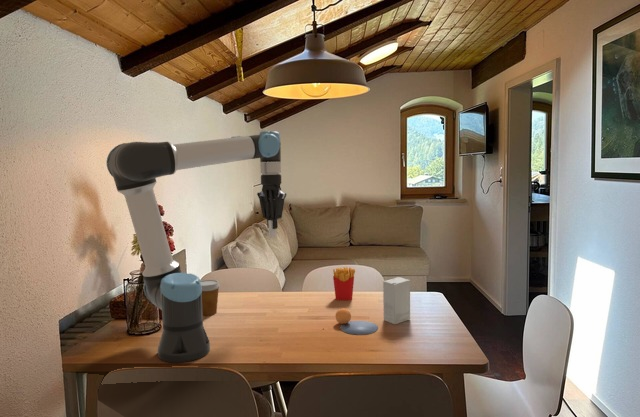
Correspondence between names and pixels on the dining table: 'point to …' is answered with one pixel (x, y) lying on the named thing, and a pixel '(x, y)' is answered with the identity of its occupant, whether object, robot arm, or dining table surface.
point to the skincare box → (396, 300)
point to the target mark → (359, 327)
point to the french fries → (343, 283)
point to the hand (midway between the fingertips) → (272, 237)
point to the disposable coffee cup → (209, 296)
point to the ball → (343, 316)
